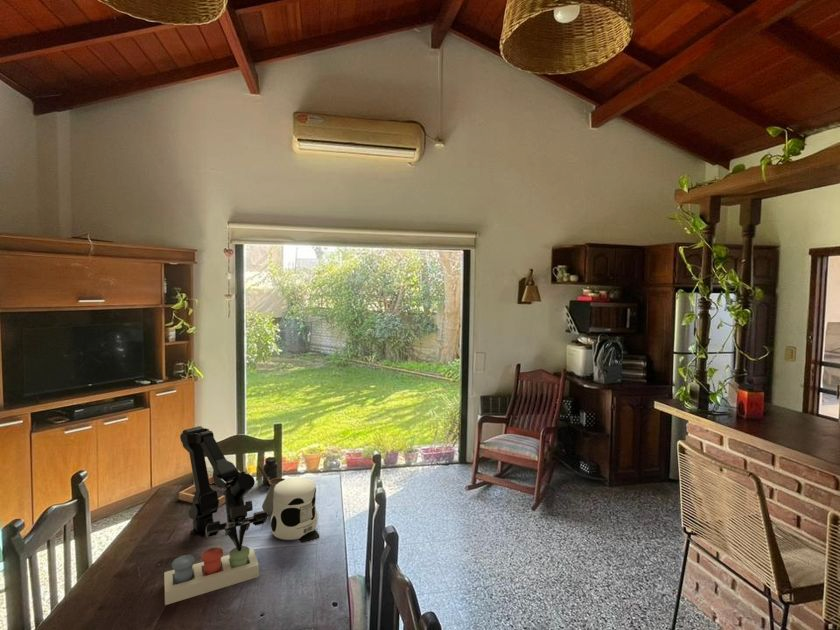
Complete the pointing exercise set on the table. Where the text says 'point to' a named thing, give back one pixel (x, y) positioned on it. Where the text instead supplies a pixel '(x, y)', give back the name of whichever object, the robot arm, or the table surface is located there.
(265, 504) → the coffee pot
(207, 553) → the red button
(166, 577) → the button console
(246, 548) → the sage green button
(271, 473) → the supplement bottle
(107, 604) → the table surface
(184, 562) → the slate blue button
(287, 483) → the milk container
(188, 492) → the square wooden frame
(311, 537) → the phone
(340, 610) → the table surface
